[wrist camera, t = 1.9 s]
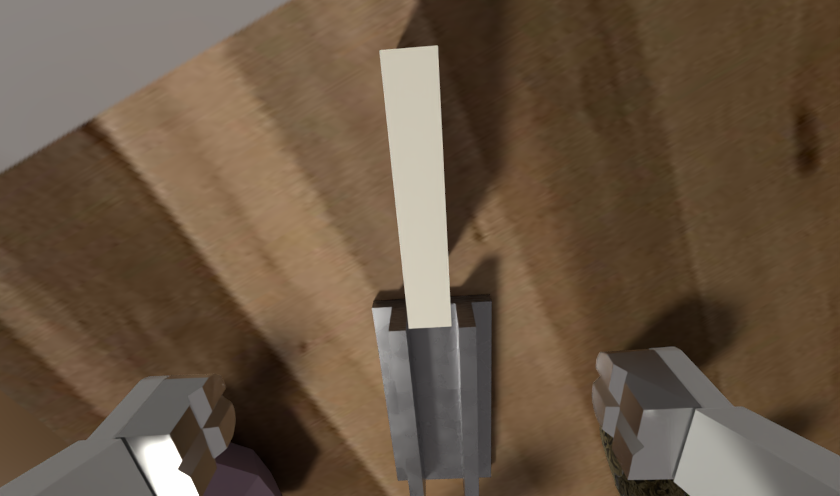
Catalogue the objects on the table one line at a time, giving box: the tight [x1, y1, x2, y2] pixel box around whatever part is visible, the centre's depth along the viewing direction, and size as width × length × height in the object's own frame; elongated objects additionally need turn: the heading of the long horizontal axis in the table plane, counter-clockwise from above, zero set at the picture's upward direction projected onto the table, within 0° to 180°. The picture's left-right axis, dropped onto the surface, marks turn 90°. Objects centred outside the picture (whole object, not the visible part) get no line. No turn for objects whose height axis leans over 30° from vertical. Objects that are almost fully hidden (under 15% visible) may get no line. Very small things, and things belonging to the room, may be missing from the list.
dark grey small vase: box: [600, 426, 688, 496], centre depth 31 cm, size 8×7×8 cm
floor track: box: [372, 294, 492, 496], centre depth 33 cm, size 20×9×4 cm, turn 4°
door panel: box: [379, 45, 451, 329], centre depth 23 cm, size 14×2×8 cm, turn 4°
